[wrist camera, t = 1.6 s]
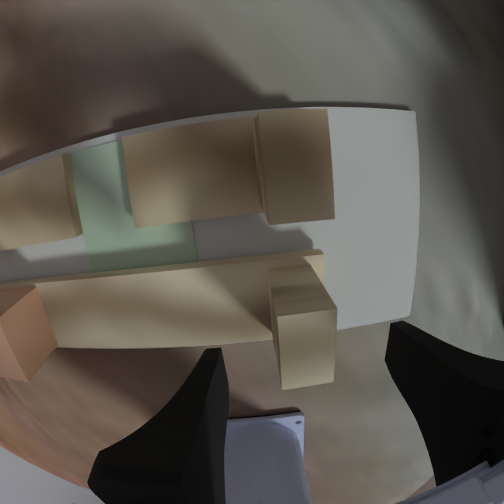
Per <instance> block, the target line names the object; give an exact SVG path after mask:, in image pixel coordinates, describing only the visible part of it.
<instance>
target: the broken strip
mask: <svg viewBox="0 0 504 504" xmlns="http://www.w3.org/2000/svg"><path fill="white" fill-rule="evenodd" d="M122 142H123V151H124V160H125V168H126V175H127V182H128V189H129V196H130V202H131V208H132V214H133V219H134V225H135V228H142V227H149V226H156V225H164V224H171V223H179V222H187V221H195V220H203V219H212V218H220V217H229V216H238V215H247V214H257V213H264V214H265V216H266V219H267V221H268V223H269V225H278V224H288V223H298V222H309V221H319V220H330V219H335V206H334V185H333V169H332V155H331V143H330V132H329V122H328V112H327V109H288V110H271V111H258V113H257V116H253V117H242V118H232V119H224V120H215V121H208V122H201V123H194V124H188V125H181V126H175V127H170V128H164V129H159V130H154V131H149V132H144V133H139V134H135V135H130V136H126V137H122ZM81 234H83V229H82V224H81V219H80V214H79V209H78V203H77V197H76V191H75V185H74V178H73V170H72V162H71V154H70V153H68V154H60V155H57V156H54V157H51V158H48V159H45V160H42V161H39V162H36V163H33V164H30V165H28V166H25V167H22V168H20V169H17V170H15V171H12V172H10V173H7V174H5V175H2V176H0V251H4V250H9V249H14V248H19V247H25V246H30V245H36V244H41V243H47V242H52V241H58V240H64V239H70V238H76V237H78V236H79V235H81Z"/></svg>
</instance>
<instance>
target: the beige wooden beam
mask: <svg viewBox="0 0 504 504" xmlns="http://www.w3.org/2000/svg"><path fill="white" fill-rule="evenodd" d="M29 287H37V290H38V293H39V296H40V299H41V302H42V305H43V307H44V310H45V313H46V315H47V318H48V321H49V323H50V326H51V328H52V331H53V333H54V335H55V338H56V340H57V343H58V345H57V346H56V347H70V348H161V347H183V346H200V345H214V344H227V343H238V342H248V341H258V340H267V339H273V342H274V348H275V353H276V359H277V364H278V370H279V375H280V381H281V387H282V390H285V389H293V388H300V387H306V386H313V385H319V384H324V383H330V382H333V379H334V366H335V351H336V333H337V307H336V305H335V303H334V302H333V300H332V299H331V297H330V295H329V294H328V292H327V290H326V289H325V264H324V253H323V252H322V251H321V250H320V249H312V250H303V251H294V252H284V253H275V254H266V255H257V256H247V257H238V258H229V259H219V260H210V261H200V262H191V263H181V264H172V265H162V266H153V267H143V268H134V269H124V270H114V271H104V272H95V273H85V274H75V275H65V276H55V277H45V278H35V279H25V280H15V281H5V282H0V290H2V289H15V288H29Z"/></svg>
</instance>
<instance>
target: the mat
mask: <svg viewBox="0 0 504 504" xmlns="http://www.w3.org/2000/svg"><path fill="white" fill-rule="evenodd" d="M288 109H327V112H328V122H329V132H330V143H331V155H332V169H333V185H334V206H335V219H330V220H319V221H309V222H298V223H288V224H278V225H269V223H268V221H267V219H266V216H265V214H264V213H257V214H247V215H238V216H229V217H220V218H212V219H203V220H195V221H187V222H179V223H171V224H164V225H156V226H149V227H142V228H135V225H134V219H133V214H132V208H131V202H130V196H129V189H128V182H127V175H126V168H125V160H124V151H123V142H122V137H126V136H130V135H135V134H139V133H144V132H149V131H154V130H159V129H164V128H170V127H175V126H181V125H188V124H194V123H201V122H208V121H215V120H224V119H232V118H242V117H253V116H257V113H258V111H271V110H288ZM68 153H70V154H71V162H72V170H73V178H74V185H75V191H76V197H77V203H78V209H79V214H80V219H81V224H82V229H83V234H81V235H79V236H78V237H76V238H70V239H64V240H58V241H52V242H47V243H41V244H36V245H30V246H25V247H19V248H14V249H9V250H4V251H0V282H5V281H15V280H25V279H35V278H45V277H55V276H65V275H75V274H85V273H95V272H104V271H114V270H124V269H134V268H143V267H153V266H162V265H172V264H181V263H191V262H200V261H210V260H219V259H229V258H238V257H247V256H257V255H266V254H275V253H284V252H294V251H303V250H312V249H320V250H321V251H322V252H323V253H324V264H325V289H326V290H327V292H328V294H329V295H330V297H331V299H332V300H333V302H334V303H335V305H336V307H337V330H340V329H346V328H352V327H357V326H363V325H368V324H373V323H378V322H383V321H388V320H393V319H398V318H402V317H407V316H410V311H411V304H412V297H413V290H414V281H415V272H416V261H417V249H418V233H419V203H420V183H419V153H418V137H417V125H416V115H415V111H406V110H395V109H381V108H360V107H297V108H276V109H262V110H250V111H239V112H230V113H221V114H213V115H206V116H199V117H192V118H186V119H180V120H174V121H168V122H163V123H158V124H153V125H148V126H143V127H139V128H134V129H130V130H125V131H121V132H117V133H113V134H109V135H105V136H101V137H98V138H94V139H91V140H87V141H84V142H80V143H77V144H74V145H70V146H67V147H64V148H61V149H58V150H55V151H52V152H49V153H46V154H43V155H40V156H38V157H35V158H32V159H29V160H27V161H24V162H22V163H19V164H17V165H14V166H12V167H9V168H7V169H4V170H2V171H0V176H2V175H5V174H7V173H10V172H12V171H15V170H17V169H20V168H22V167H25V166H28V165H30V164H33V163H36V162H39V161H42V160H45V159H48V158H51V157H54V156H57V155H60V154H68ZM267 340H270V339H267ZM258 341H261V340H258ZM248 342H251V341H248ZM238 343H241V342H238ZM227 344H230V343H227ZM214 345H218V344H214ZM200 346H205V345H200ZM183 347H189V346H183ZM63 348H70V347H63ZM161 348H168V347H161ZM97 349H133V348H97Z"/></svg>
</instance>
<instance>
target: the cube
mask: <svg viewBox="0 0 504 504" xmlns="http://www.w3.org/2000/svg"><path fill="white" fill-rule="evenodd" d="M57 345H58V343H57V340H56V338H55V335H54V333H53V331H52V328H51V326H50V323H49V321H48V318H47V315H46V313H45V310H44V307H43V305H42V302H41V299H40V296H39V293H38V290H37V287H29V288H15V289H2V290H0V377H4V378H9V379H14V380H19V381H24V382H29V381H30V380H31V379H32V377H33V376H34V375H35V373H36V372H37V371H38V369H39V368H40V367H41V366H42V364H43V363H44V362H45V360H46V359H47V358H48V356H49V355H50V354H51V353H52V351H53V350H54V349H55V348H56V346H57Z"/></svg>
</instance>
